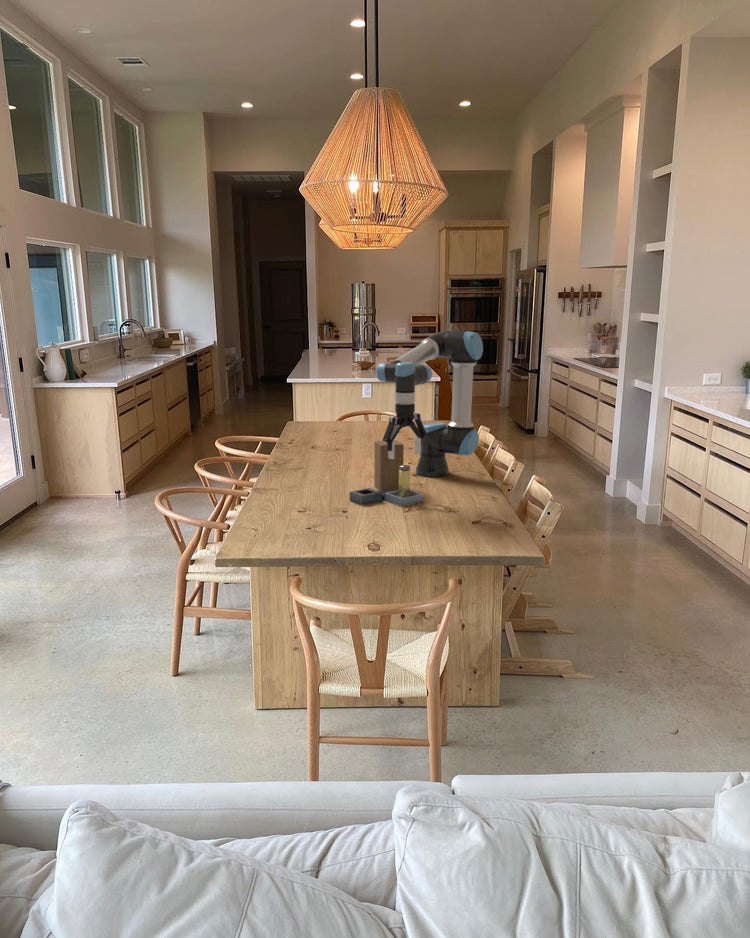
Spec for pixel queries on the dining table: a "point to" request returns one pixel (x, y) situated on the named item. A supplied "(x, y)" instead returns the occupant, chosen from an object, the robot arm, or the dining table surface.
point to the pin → (404, 481)
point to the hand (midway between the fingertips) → (404, 456)
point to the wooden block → (387, 466)
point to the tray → (395, 498)
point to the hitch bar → (367, 496)
